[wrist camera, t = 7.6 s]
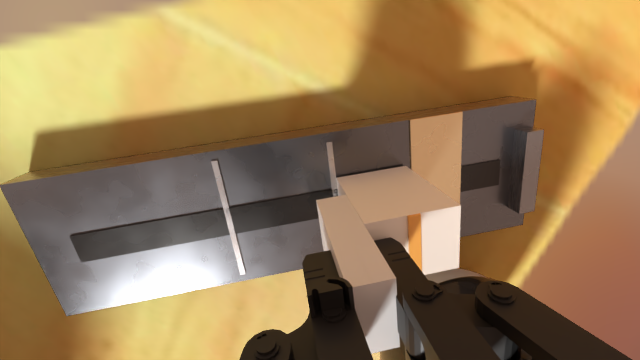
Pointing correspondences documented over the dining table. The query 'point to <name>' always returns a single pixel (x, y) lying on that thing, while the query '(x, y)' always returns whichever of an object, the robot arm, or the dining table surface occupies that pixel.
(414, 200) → the fader knob
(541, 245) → the dining table surface
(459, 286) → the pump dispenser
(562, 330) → the robot arm
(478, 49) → the dining table surface
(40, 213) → the console
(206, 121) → the dining table surface
